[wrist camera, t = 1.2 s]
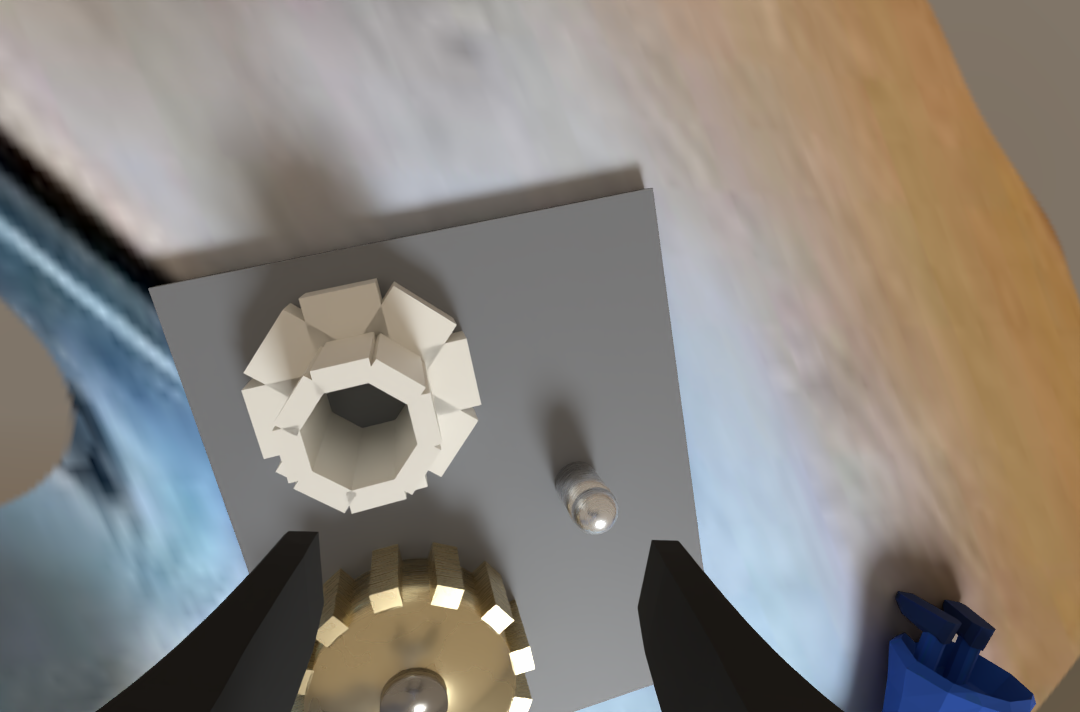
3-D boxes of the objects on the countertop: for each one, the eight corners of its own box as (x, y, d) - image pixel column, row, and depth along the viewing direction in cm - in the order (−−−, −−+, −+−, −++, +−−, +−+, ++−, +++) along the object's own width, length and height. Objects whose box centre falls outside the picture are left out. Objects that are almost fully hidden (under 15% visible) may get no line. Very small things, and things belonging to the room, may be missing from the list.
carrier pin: (559, 507, 26) (582, 549, 22) (551, 468, 25) (574, 505, 22) (600, 495, 26) (629, 535, 23) (593, 456, 25) (621, 491, 22)
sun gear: (330, 764, 26) (320, 848, 23) (266, 580, 24) (244, 642, 20) (537, 695, 27) (557, 763, 24) (496, 515, 25) (511, 563, 22)
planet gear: (292, 505, 23) (261, 590, 18) (228, 308, 21) (173, 340, 16) (489, 453, 24) (514, 518, 19) (447, 263, 22) (462, 278, 17)
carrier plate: (330, 779, 27) (328, 795, 26) (157, 285, 21) (148, 288, 21) (707, 651, 30) (715, 662, 29) (644, 188, 24) (652, 188, 24)
